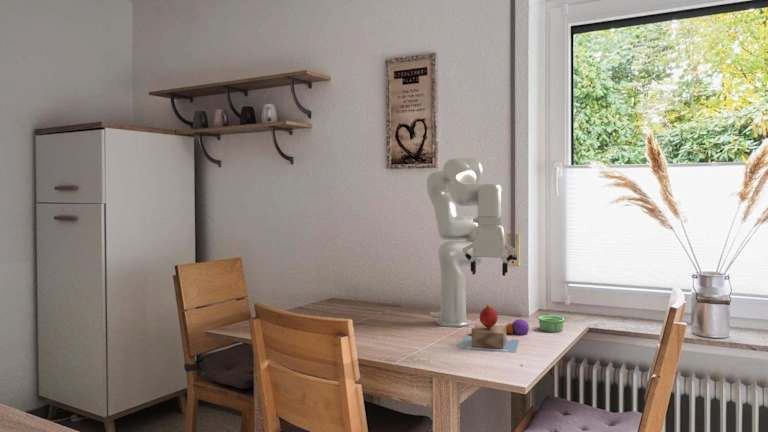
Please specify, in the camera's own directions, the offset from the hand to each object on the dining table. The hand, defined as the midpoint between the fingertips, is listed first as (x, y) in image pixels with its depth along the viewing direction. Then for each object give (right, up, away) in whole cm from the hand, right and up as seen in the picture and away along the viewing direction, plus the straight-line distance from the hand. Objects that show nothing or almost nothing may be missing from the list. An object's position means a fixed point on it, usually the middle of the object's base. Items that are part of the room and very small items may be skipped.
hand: (488, 274), depth 188 cm
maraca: (+7, -23, +14) cm, 28 cm away
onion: (0, -18, +1) cm, 18 cm away
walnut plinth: (0, -23, +1) cm, 23 cm away
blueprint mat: (0, -24, +1) cm, 24 cm away
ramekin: (+27, -23, +23) cm, 42 cm away
